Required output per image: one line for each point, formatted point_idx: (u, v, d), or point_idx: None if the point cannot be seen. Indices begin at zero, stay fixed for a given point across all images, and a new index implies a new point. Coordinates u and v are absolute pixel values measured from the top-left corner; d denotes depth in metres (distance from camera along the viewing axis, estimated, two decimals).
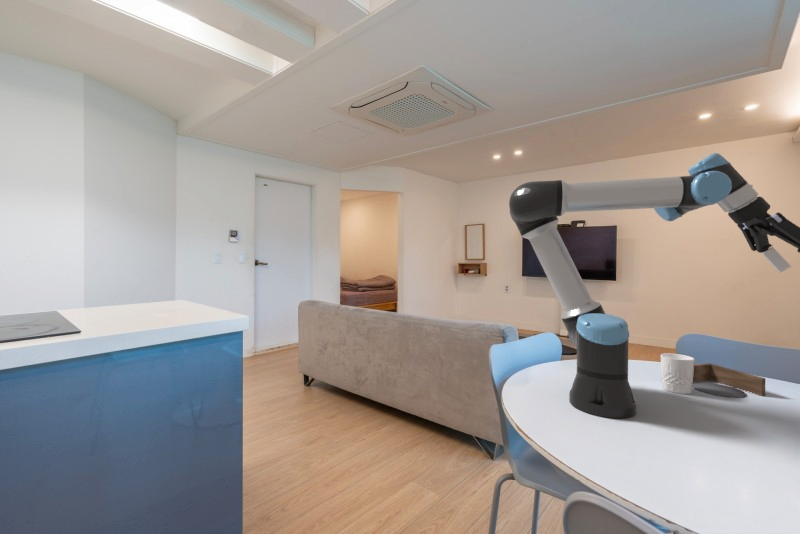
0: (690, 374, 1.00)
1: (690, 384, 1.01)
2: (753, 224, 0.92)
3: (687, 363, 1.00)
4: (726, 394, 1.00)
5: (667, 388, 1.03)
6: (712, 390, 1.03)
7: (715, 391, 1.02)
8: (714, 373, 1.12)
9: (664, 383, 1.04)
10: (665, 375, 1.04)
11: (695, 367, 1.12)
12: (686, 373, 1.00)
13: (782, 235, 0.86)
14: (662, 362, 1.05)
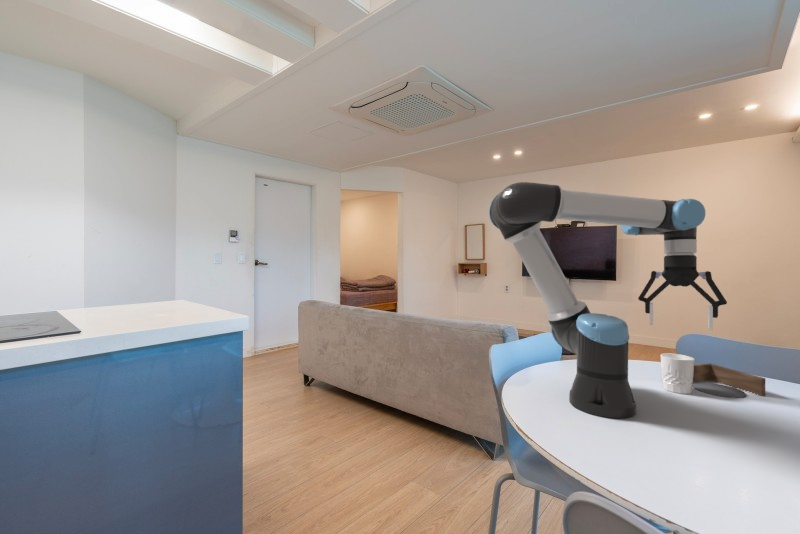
0: (690, 374, 1.00)
1: (690, 384, 1.01)
2: (678, 274, 1.03)
3: (687, 363, 1.00)
4: (726, 394, 1.00)
5: (667, 388, 1.03)
6: (712, 390, 1.03)
7: (715, 391, 1.02)
8: (714, 373, 1.12)
9: (664, 383, 1.04)
10: (665, 375, 1.04)
11: (695, 367, 1.12)
12: (686, 373, 1.00)
13: (703, 290, 0.99)
14: (662, 362, 1.05)
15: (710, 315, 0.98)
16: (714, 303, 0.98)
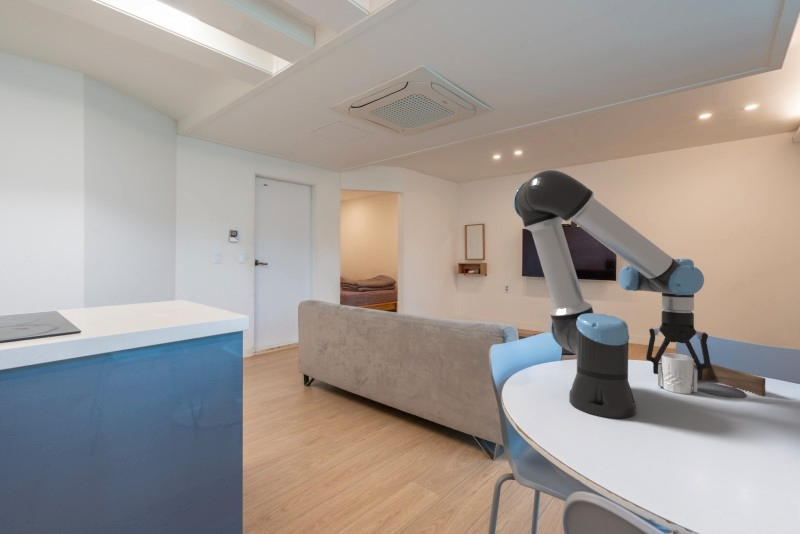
0: (690, 374, 1.00)
1: (690, 384, 1.01)
2: (675, 327, 1.03)
3: (687, 363, 1.00)
4: (726, 394, 1.00)
5: (667, 388, 1.03)
6: (712, 390, 1.03)
7: (715, 391, 1.02)
8: (714, 373, 1.12)
9: (664, 383, 1.04)
10: (665, 375, 1.04)
11: None
12: (686, 373, 1.00)
13: (694, 351, 1.01)
14: (662, 362, 1.05)
15: (695, 378, 1.00)
16: (699, 366, 1.00)
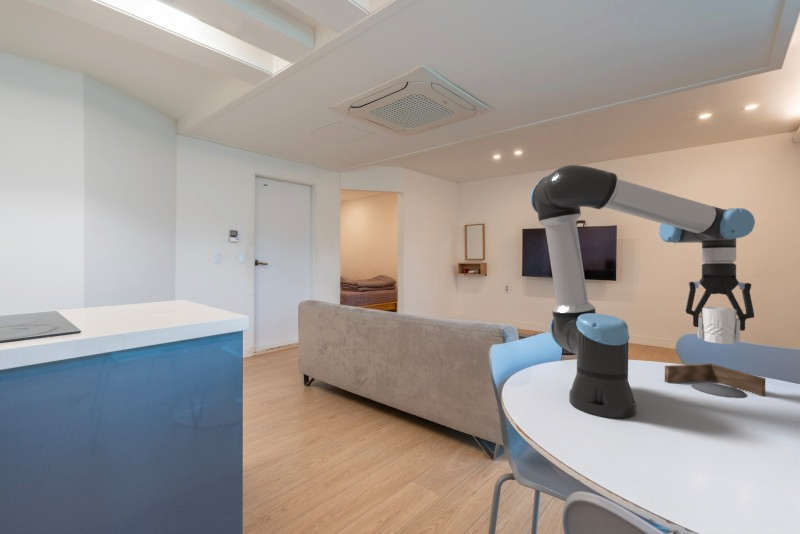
0: (733, 324, 1.00)
1: (732, 334, 1.01)
2: (716, 279, 1.03)
3: (730, 313, 1.00)
4: (726, 394, 1.00)
5: (708, 339, 1.03)
6: (712, 390, 1.03)
7: (715, 391, 1.02)
8: (714, 373, 1.12)
9: (705, 335, 1.04)
10: (706, 327, 1.03)
11: (695, 367, 1.12)
12: (729, 323, 1.00)
13: (736, 301, 1.01)
14: (703, 314, 1.04)
15: (737, 328, 1.00)
16: (742, 316, 1.00)
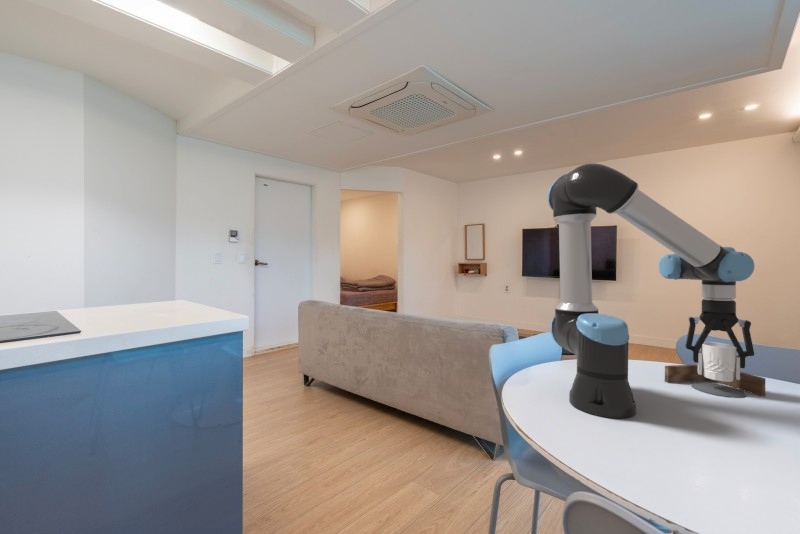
0: (733, 362, 1.00)
1: (733, 372, 1.01)
2: (716, 316, 1.03)
3: (730, 351, 1.00)
4: (726, 394, 1.00)
5: (709, 376, 1.03)
6: (712, 390, 1.03)
7: (715, 391, 1.02)
8: None
9: (705, 371, 1.04)
10: (706, 363, 1.04)
11: (695, 367, 1.12)
12: (729, 361, 1.00)
13: (736, 339, 1.01)
14: (703, 350, 1.05)
15: (737, 365, 1.00)
16: (742, 354, 1.00)
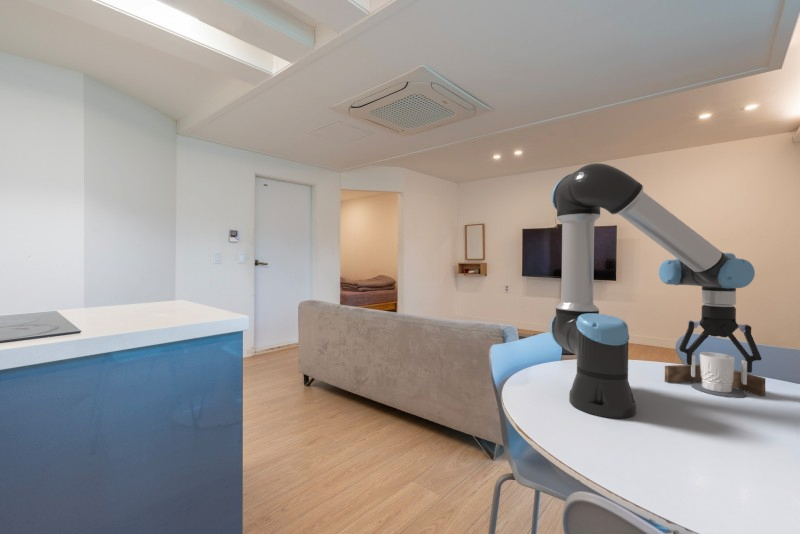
0: (731, 373, 1.00)
1: (731, 383, 1.01)
2: (716, 323, 1.03)
3: (728, 362, 1.00)
4: (726, 394, 1.00)
5: (707, 387, 1.03)
6: None
7: (715, 391, 1.02)
8: None
9: (704, 382, 1.04)
10: (705, 374, 1.04)
11: (695, 367, 1.12)
12: (727, 372, 1.00)
13: None
14: (701, 361, 1.05)
15: (744, 370, 1.00)
16: (748, 358, 0.99)
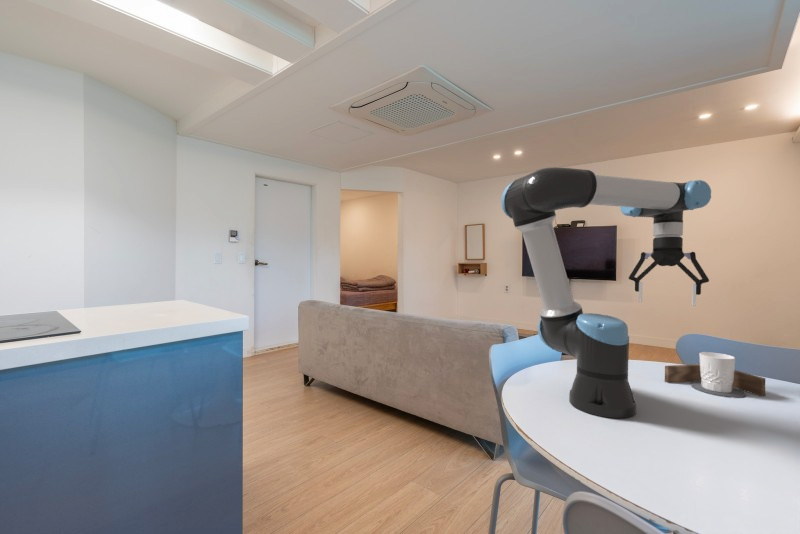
0: (731, 373, 1.00)
1: (731, 383, 1.01)
2: (665, 254, 1.11)
3: (728, 362, 1.00)
4: (726, 394, 1.00)
5: (707, 387, 1.03)
6: None
7: (715, 391, 1.02)
8: None
9: (704, 382, 1.04)
10: (705, 374, 1.04)
11: (695, 367, 1.12)
12: (727, 372, 1.00)
13: (688, 269, 1.08)
14: (701, 361, 1.05)
15: (693, 292, 1.07)
16: (697, 281, 1.06)
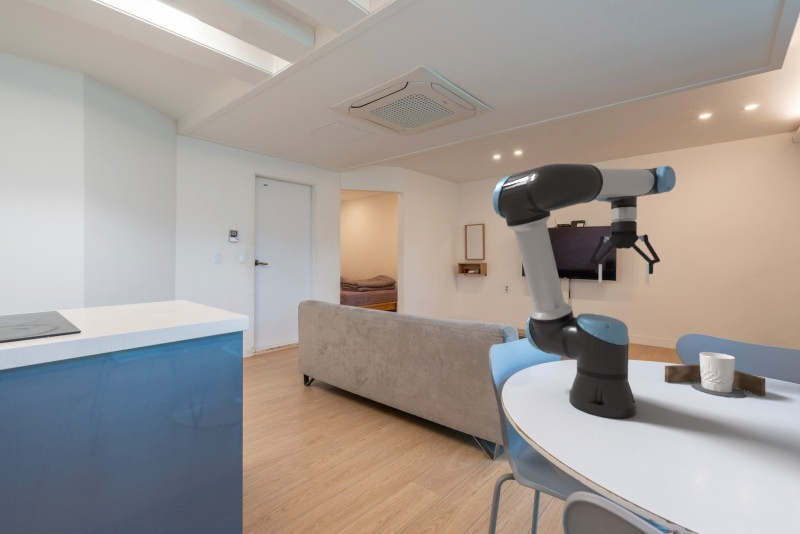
0: (731, 373, 1.00)
1: (731, 383, 1.01)
2: (621, 238, 1.19)
3: (728, 362, 1.00)
4: (726, 394, 1.00)
5: (707, 387, 1.03)
6: None
7: (715, 391, 1.02)
8: None
9: (704, 382, 1.04)
10: (705, 374, 1.04)
11: (695, 367, 1.12)
12: (727, 372, 1.00)
13: (641, 250, 1.16)
14: (701, 361, 1.05)
15: (647, 272, 1.15)
16: (650, 261, 1.14)
